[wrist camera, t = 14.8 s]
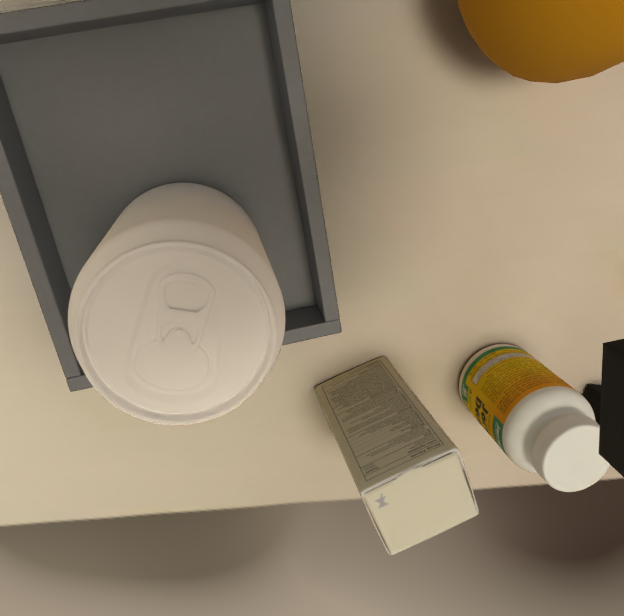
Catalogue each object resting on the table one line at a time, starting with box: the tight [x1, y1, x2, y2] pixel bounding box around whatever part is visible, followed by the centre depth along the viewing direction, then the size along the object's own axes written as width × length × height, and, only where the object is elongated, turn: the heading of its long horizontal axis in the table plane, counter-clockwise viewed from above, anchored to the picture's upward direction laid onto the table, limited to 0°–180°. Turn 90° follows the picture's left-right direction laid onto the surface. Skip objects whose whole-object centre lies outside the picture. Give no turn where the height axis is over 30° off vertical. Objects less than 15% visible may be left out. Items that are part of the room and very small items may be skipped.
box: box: [315, 356, 479, 555], centre depth 33 cm, size 5×4×11 cm
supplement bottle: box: [459, 344, 610, 492], centre depth 35 cm, size 5×5×10 cm
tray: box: [0, 0, 341, 392], centre depth 30 cm, size 18×15×4 cm
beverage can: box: [68, 183, 285, 425], centre depth 27 cm, size 8×8×12 cm
